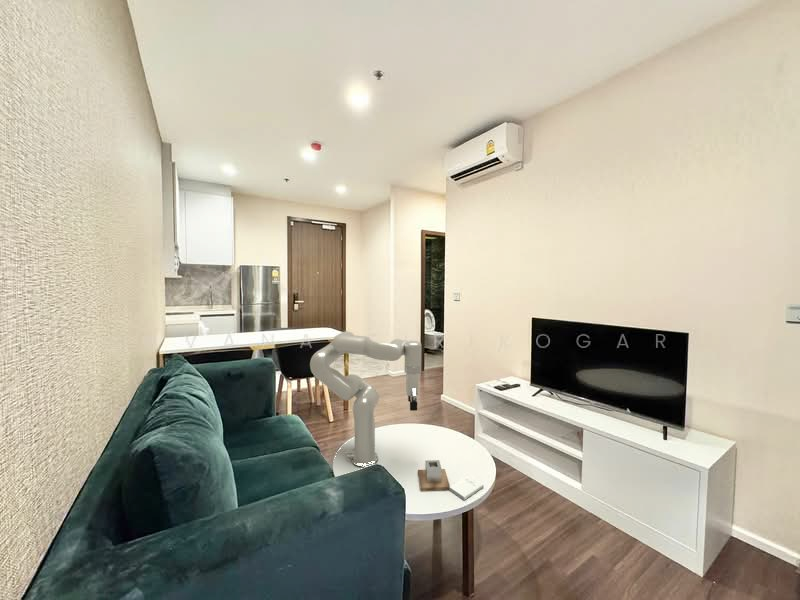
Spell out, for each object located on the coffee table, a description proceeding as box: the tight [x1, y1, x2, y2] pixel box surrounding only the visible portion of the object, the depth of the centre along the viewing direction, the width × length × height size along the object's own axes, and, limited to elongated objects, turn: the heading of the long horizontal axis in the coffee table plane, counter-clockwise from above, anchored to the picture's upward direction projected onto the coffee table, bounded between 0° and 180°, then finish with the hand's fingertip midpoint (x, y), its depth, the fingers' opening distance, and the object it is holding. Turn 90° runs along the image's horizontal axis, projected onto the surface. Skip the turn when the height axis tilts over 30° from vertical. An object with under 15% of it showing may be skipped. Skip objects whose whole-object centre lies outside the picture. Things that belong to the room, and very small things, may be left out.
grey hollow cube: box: [424, 459, 443, 483], centre depth 138 cm, size 6×6×6 cm
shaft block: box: [417, 465, 451, 492], centre depth 138 cm, size 12×12×6 cm
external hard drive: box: [448, 474, 484, 501], centre depth 134 cm, size 2×8×12 cm
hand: (412, 405), depth 147 cm, fingers open, 9 cm apart
